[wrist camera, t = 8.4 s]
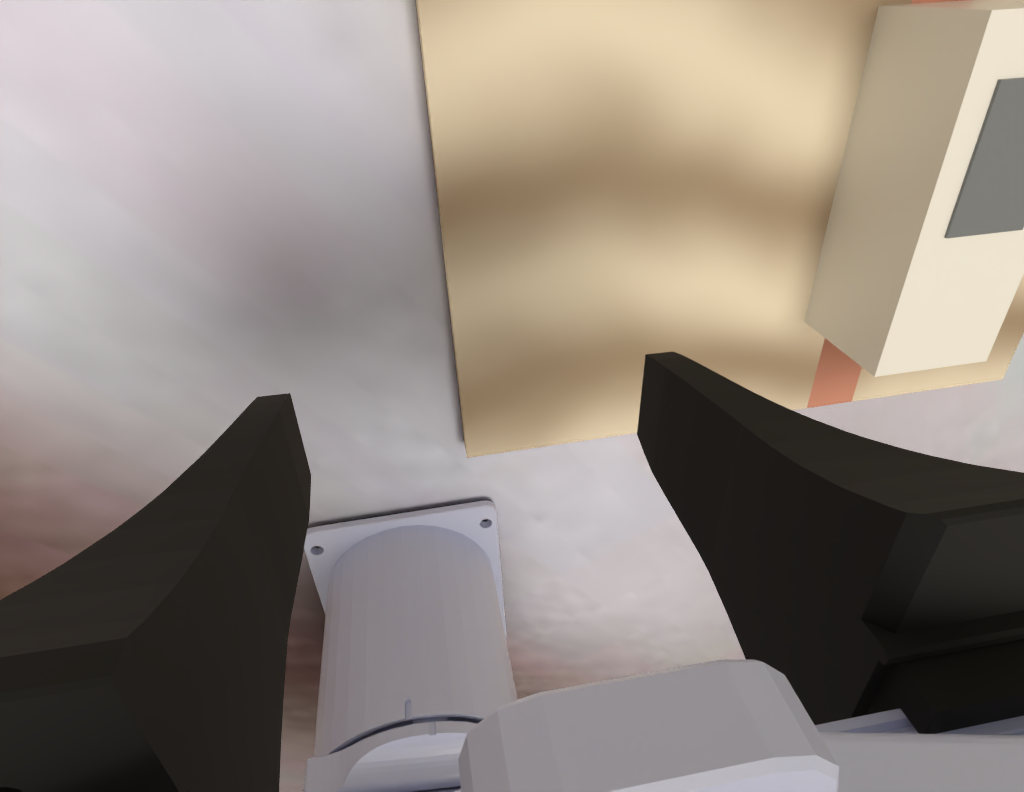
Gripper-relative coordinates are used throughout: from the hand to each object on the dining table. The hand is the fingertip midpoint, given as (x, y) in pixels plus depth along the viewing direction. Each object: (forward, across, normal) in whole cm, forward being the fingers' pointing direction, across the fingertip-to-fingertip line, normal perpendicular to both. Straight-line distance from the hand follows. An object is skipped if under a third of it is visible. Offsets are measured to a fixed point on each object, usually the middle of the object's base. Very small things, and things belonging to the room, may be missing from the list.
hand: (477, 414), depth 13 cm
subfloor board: (+9, -12, -2) cm, 15 cm away
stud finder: (+8, -15, -2) cm, 17 cm away
